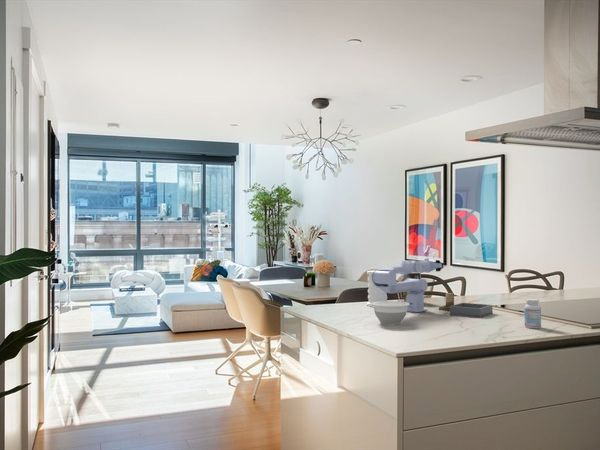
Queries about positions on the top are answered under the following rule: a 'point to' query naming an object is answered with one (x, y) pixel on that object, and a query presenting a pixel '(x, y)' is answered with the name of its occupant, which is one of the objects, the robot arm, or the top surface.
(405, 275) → the coffee box
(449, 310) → the collar holder
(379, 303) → the bowl
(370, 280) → the decorative container
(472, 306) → the tray
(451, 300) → the dowel
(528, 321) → the pill bottle
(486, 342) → the top surface
